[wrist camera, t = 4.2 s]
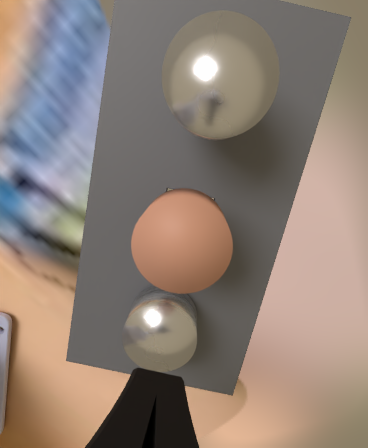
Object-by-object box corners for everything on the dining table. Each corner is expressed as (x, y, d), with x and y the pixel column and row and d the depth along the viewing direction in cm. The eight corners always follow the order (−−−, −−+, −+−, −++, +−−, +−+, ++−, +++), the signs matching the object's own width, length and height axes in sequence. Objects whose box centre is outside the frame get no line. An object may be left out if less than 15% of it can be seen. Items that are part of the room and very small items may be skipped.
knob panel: (226, 357, 19) (232, 395, 16) (86, 327, 19) (66, 360, 16) (319, 43, 14) (351, 17, 11) (135, 0, 14) (119, -37, 11)
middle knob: (211, 253, 14) (219, 302, 10) (146, 239, 14) (123, 282, 10) (228, 188, 14) (244, 209, 9) (159, 173, 14) (140, 186, 9)
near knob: (238, 148, 13) (261, 149, 9) (166, 132, 13) (151, 125, 9) (257, 70, 12) (294, 25, 8) (182, 53, 12) (174, -3, 8)
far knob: (189, 318, 18) (188, 378, 13) (136, 307, 18) (116, 363, 13) (202, 269, 17) (204, 315, 12) (146, 257, 17) (128, 299, 12)
